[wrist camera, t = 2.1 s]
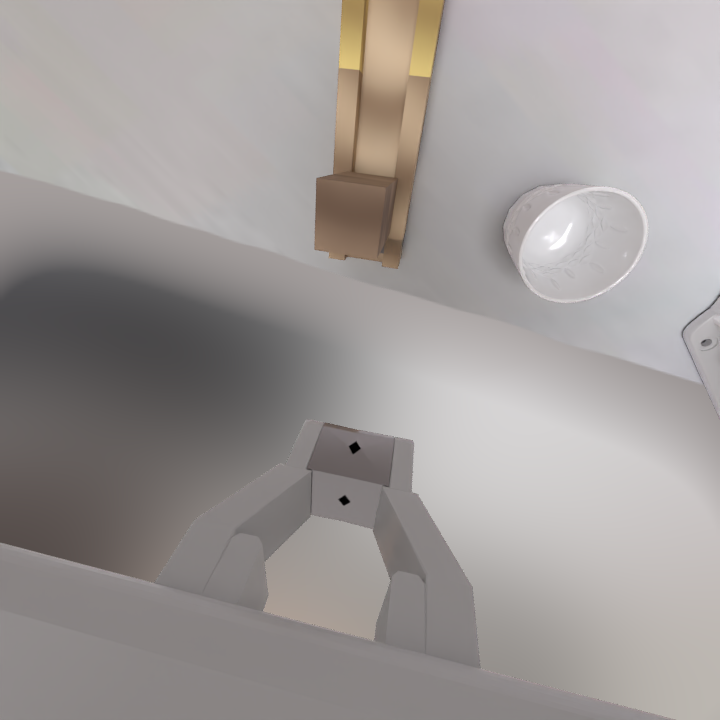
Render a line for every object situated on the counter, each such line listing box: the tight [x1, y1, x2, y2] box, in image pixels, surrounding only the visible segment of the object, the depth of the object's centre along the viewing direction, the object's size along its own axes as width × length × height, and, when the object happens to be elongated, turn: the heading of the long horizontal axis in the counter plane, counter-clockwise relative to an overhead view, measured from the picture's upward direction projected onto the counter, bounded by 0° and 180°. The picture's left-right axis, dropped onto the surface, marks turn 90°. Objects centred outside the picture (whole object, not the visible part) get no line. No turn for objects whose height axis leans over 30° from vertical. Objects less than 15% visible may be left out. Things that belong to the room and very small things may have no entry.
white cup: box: [503, 184, 648, 303], centre depth 27 cm, size 8×8×10 cm
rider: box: [315, 171, 398, 260], centre depth 26 cm, size 4×4×10 cm
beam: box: [329, 0, 445, 269], centre depth 28 cm, size 24×7×4 cm, turn 174°
